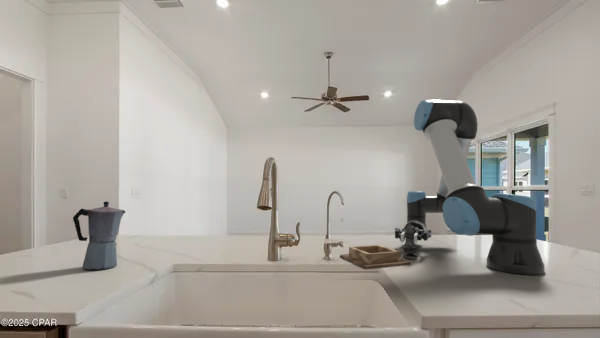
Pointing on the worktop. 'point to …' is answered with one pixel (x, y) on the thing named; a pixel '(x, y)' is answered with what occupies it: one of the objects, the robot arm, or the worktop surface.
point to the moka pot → (100, 236)
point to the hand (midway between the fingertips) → (408, 238)
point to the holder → (374, 256)
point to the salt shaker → (410, 243)
